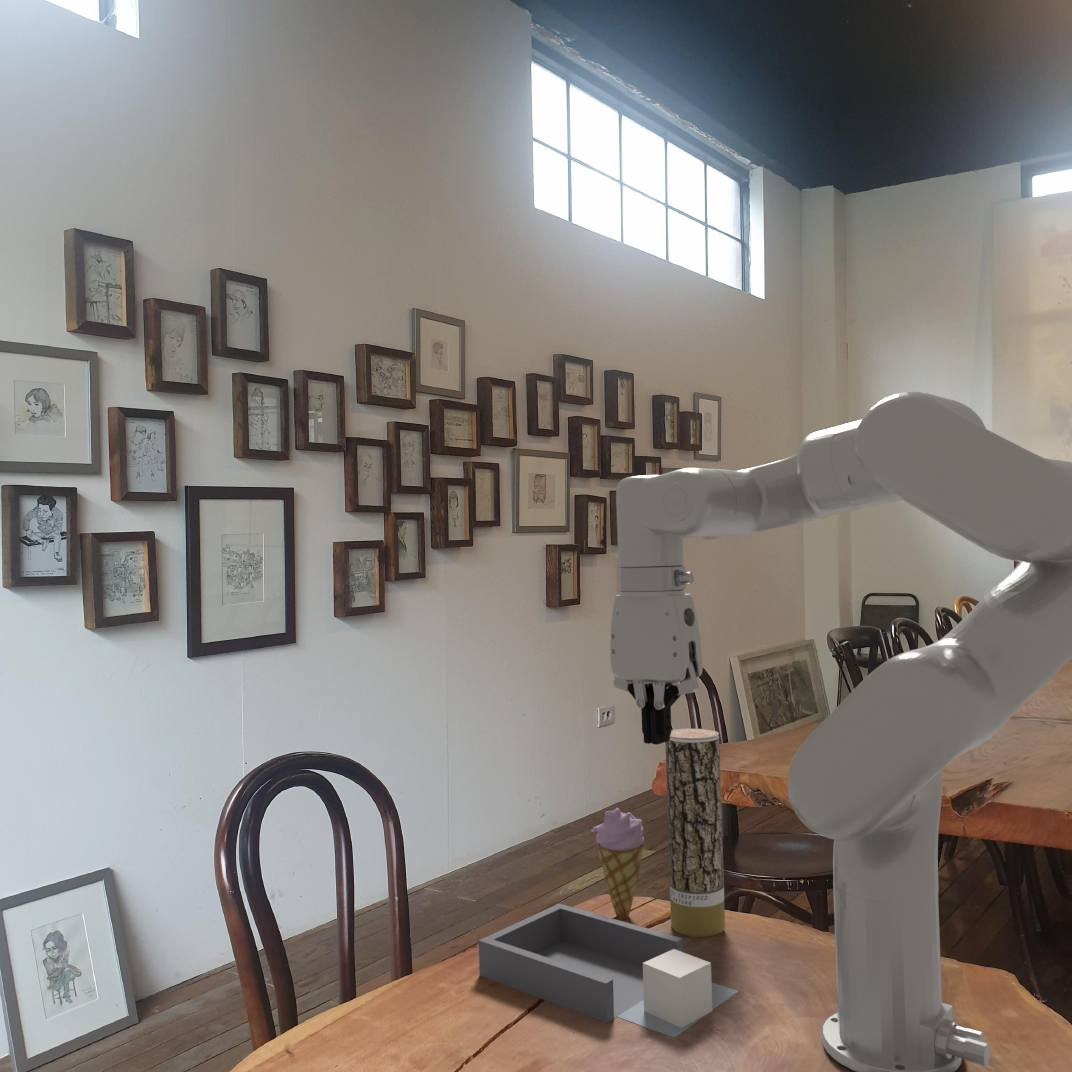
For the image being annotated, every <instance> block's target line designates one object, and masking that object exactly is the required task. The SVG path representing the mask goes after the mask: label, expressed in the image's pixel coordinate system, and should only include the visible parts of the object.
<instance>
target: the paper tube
mask: <svg viewBox="0 0 1072 1072" xmlns="http://www.w3.org/2000/svg"><path fill="white" fill-rule="evenodd" d="M664 743H665V746H664V747H665V748H664V749H665V775H666V776H665V777H666V778H665V779H666V780H665V781H666V803H667V804H666V805H667V808H666V809H667V810H666V811H667V835H668V837H667V838H668V839H667V841H668V873H669V874H668V875H669V877H668V878H669V898H670V926H671V928H672V929H673V931H675V932H676V933H679V934H681V935H683V936H687V937H692V938H693V937H694V938H706V937H707V938H708V937H714V936H717V935H719V934H722V933H723V932H724V930H725V927H726V922H725V921H726V918H725V917H726V916H725V914H726V913H725V883H724V882H725V880H724V878H725V877H724V851H723V850H724V849H723V848H724V846H723V826H722V825H723V819H722V815H723V814H722V787H721V785H722V784H721V758H720V757H721V756H720V755H721V754H720V752H721V751H720V736H719V732H718V731H715V730H712V729H706V728H678V729H671V735H670V740H669V741H667V742H664Z"/></svg>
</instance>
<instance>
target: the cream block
mask: <svg viewBox="0 0 1072 1072" xmlns="http://www.w3.org/2000/svg"><path fill="white" fill-rule="evenodd" d="M711 982H712V963H711V962H710V961H707V960H704V959H702V958H700V957H697V956H694V955H692V954H691V955H690V954H689V953H686V952H684V951H683V952H681V951H678V950H675V949H673V950H670V951H668V952H666V953H664V954H662V955H659V956H657V957H655V958H653V959H650V960H648V961H646V962H644V963H643V993H644V1011H645V1012H647V1013H649V1014H651V1015H654V1016H656V1017H658V1018H660V1019H662V1020H665V1021H667V1022H669V1023H671V1024H674V1025H676V1026H678V1027H680V1028H682V1027H684V1026H686V1025H688V1024H690V1023H691V1022H693V1021H695V1020H697V1019H699V1018H701V1017H703V1016H704V1015H706V1014H707V1015H709V1014H710V1013H711V1012H713V1010H712V983H713V982H712V983H711ZM707 1015H706V1016H707ZM704 1017H705V1016H704ZM704 1017H703V1018H704ZM701 1019H702V1018H701Z"/></svg>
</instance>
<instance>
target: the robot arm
mask: <svg viewBox="0 0 1072 1072" xmlns="http://www.w3.org/2000/svg"><path fill="white" fill-rule="evenodd" d="M616 485H617V486H616V491H615V493H616V494H615V499H616V501H615V503H616V504H615V505H616V529H617V530H616V531H617V557H618V558H617V559H618V562H617V564H618V589H619V590H618V591H619V594H616V595H615V598H614V602H613V607H612V613H611V614H612V615H611V623H610V640H609V641H610V645H609V646H610V647H609V648H610V649H609V650H610V651H609V652H610V656H609V657H610V668H611V672H612V674H613V676H614V679H613V686H614V687H615V688H617V689H620V690H623V691H626V692H628V693H629V694H630V695H631V697H633V699H634V700H635V702H636V707H638V708H639V709H640V710H641V711H640V712H641V733H642V734H643V743H644V744H647V745H648V744H649V745H650V744H652V745H656V746H657V745H660V744H663V743H665V742H667V741H669V740H670V735H671V730H672V712H671V711H672V709H671V708H672V707H674V706H675V704H676V702H677V701H678V699H679V698H680V697H681V696H682V695H687V694H692V693H695V692H698V691H699V688H700V687H699V683H698V679H697V678H699V677H701V676H702V675H703V665H704V664H703V650H702V641H701V631H700V624H699V619H698V614H697V610H696V609H697V608H696V606H695V605H696V604H695V602H694V598H693V595H692V594H691V593H686V589H687V588H686V587H687V585H689V584H690V585H691V584H693V583H694V580H695V579H694V578H695V576H694V573H693V572H690V571H686V566H685V563H684V562H685V561H684V560H685V559H684V557H685V556H684V537H688V538H689V537H692V538H699V537H700V538H701V537H702V538H703V537H738V536H739V537H740V536H746V535H752V534H757V533H762V532H766V531H771V530H776V529H781V528H787V527H790V526H793V525H798V524H803V523H806V522H810V521H813V520H818V519H826V518H829V517H830V516H834V515H839V514H843V513H848V512H852V511H853V512H854V511H857V510H862V509H865V508H869V507H870V508H871V507H874V506H879V505H883V504H889V503H894V502H899V501H903V502H905V503H907V504H908V505H910V506H912V507H913V508H915V509H917V511H920V512H922V513H923V514H925V516H928V517H930V518H931V519H933V520H934V521H936V522H938V523H940V524H941V525H943V526H944V527H946V528H948V529H950V530H951V531H953V532H954V533H956V534H957V535H959V536H961V537H962V538H964V539H966V541H969V542H971V543H972V544H974V545H975V546H976V547H977V546H978V547H979V548H981V549H983V550H985V551H986V552H989V553H990V554H993V555H996V556H997V557H1000V558H1003V559H1006V560H1011V561H1014V562H1018V563H1017V565H1016V566H1015V567H1014V569H1013V570H1012V571H1011V572H1010V573H1009V574H1008V575H1007V576H1006V577H1005V578H1004V579H1003V580H1002V581H1000V582H999V583H997V584H996V585H995V586H994V587H992V589H991V590H990V591H988V592H987V593H986V594H985V595H984V596H983V597H982V598H981V600H979V602H978V603H977V604H976V605H975V606H974V608H973V609H972V610H971V611H969V613H968V614H967V615H966V616H964V617H963V619H962V620H961V621H959V622H958V623H957V624H956V625H955V626H954V627H953V628H952V629H951V630H950V631H949V632H948V633H946V634H945V635H944V636H943V637H942V638H941V639H939V640H937V641H936V642H934V643H932V644H929V645H927V646H924V647H919V648H916V649H911V650H908V651H904V652H902V653H899V654H896V655H895V656H893V657H890V658H889V659H887V660H886V661H884V662H883V663H881V664H880V665H879V666H878V667H876V668H875V669H873V670H872V671H871V672H870V673H869V674H867V676H866V677H865V678H863V680H862V681H861V682H860V683H859V684H858V685H857V686H856V687H855V688H854V689H853V690H852V691H851V692H850V693H849V694H848V695H847V696H846V697H845V698H844V699H843V700H842V701H841V703H840V704H838V705H837V707H836V708H835V709H833V711H832V712H831V713H830V714H828V716H827V717H826V718H825V719H824V720H823V721H822V722H821V723H820V724H819V726H817V727H816V728H815V730H813V732H812V733H811V734H810V735H809V736H807V738H806V739H805V740H804V741H803V743H802V744H801V745H800V746H799V748H798V749H797V751H796V752H795V754H794V756H793V758H792V760H791V762H790V765H789V769H788V772H787V793H788V798H789V802H790V804H791V807H792V809H793V811H794V812H795V815H796V816H797V818H798V819H799V820H800V821H801V822H802V823H803V825H805V826H806V827H807V828H808V829H809V830H810V831H812V832H814V833H815V834H817V835H820V836H821V837H824V838H827V839H831V840H834V841H833V851H832V852H833V854H832V856H833V857H832V870H833V871H832V872H833V873H832V874H833V875H832V876H833V880H832V881H833V882H832V884H833V885H832V886H833V914H834V917H833V919H834V941H835V942H834V946H835V947H834V948H835V969H836V971H835V977H836V1004H837V1005H836V1006H837V1012H836V1013H834V1014H832V1015H830V1016H828V1018H827V1019H826V1020H825V1021H823V1022H824V1023H823V1024H822V1026H821V1041H822V1046H823V1047H824V1050H825V1051H826V1053H828V1054H829V1055H830V1056H831V1058H833V1060H834V1061H836V1062H838V1063H839V1064H841V1065H842V1066H843V1067H846V1068H847V1069H850V1070H851V1071H853V1072H956V1071H957V1070H959V1068H960V1066H961V1065H962V1060H963V1059H964V1060H965V1061H966V1062H970V1063H972V1064H975V1065H979V1066H982V1067H986V1068H987V1067H988V1066H989V1064H990V1059H991V1045H990V1044H989V1043H988V1042H985V1034H984V1032H983V1031H982V1030H977V1029H974V1028H970V1027H964V1026H961V1025H959V1023H958V1022H957V1021H956V1020H955V1021H954V1018H953V1015H954V1014H953V1012H954V1011H953V1005H951V1004H948V1003H945V1002H944V1003H943V1000H942V999H943V997H942V995H943V994H942V993H943V992H942V971H941V970H942V969H941V968H942V967H941V944H940V943H941V941H940V940H941V939H940V917H939V916H940V913H939V867H938V865H939V863H938V862H939V861H938V860H939V859H938V857H939V855H938V854H939V849H938V848H939V847H938V846H939V828H940V818H941V808H942V797H943V770H944V768H945V767H947V766H948V765H949V764H950V763H952V762H953V761H954V760H955V759H956V758H958V757H959V756H961V755H963V754H965V753H967V752H969V751H971V750H973V749H976V748H977V747H979V746H981V745H982V744H985V743H986V742H988V741H989V740H990V739H992V738H993V737H994V736H995V735H996V734H997V733H998V732H999V731H1000V730H1001V729H1002V728H1003V727H1004V726H1005V724H1006V723H1008V721H1009V720H1010V719H1011V718H1012V717H1013V716H1014V715H1015V714H1016V713H1017V712H1018V711H1019V710H1020V709H1021V708H1022V707H1023V706H1024V705H1025V704H1026V703H1027V702H1028V701H1029V700H1030V699H1031V698H1033V697H1034V696H1035V694H1037V693H1038V692H1039V691H1040V690H1041V689H1042V688H1043V687H1044V686H1045V685H1046V684H1048V683H1049V682H1050V680H1052V679H1053V678H1054V677H1055V676H1056V674H1058V673H1059V671H1060V670H1061V669H1062V668H1063V667H1064V666H1065V665H1066V664H1067V663H1068V662H1070V660H1071V659H1072V462H1071V461H1065V460H1061V459H1060V460H1058V459H1050V458H1044V457H1042V456H1040V455H1038V454H1037V453H1034V452H1032V451H1030V450H1028V449H1026V448H1024V447H1022V446H1020V445H1018V444H1016V443H1014V442H1013V441H1011V440H1008V439H1006V438H1004V437H1002V436H1000V435H998V434H996V433H994V432H993V431H991V430H989V429H987V428H986V426H985V424H984V422H983V420H982V418H981V417H980V416H979V415H978V414H977V412H976V411H974V410H973V409H972V408H971V407H969V406H967V405H966V404H964V403H962V402H960V401H957V400H954V399H949V398H946V397H942V396H938V395H935V394H930V393H927V392H920V391H919V392H918V391H905V392H904V391H903V392H900V393H899V392H898V393H894V394H892V395H890V396H886V397H885V398H883V399H881V400H880V401H878V402H877V403H875V404H874V405H873V406H872V407H870V408H869V409H868V410H867V412H866V413H865V414H864V415H863V416H862V418H861V419H858V420H855V421H851V422H848V423H847V422H846V423H844V424H840V425H837V426H833V427H829V428H826V429H822V430H818V431H814V432H812V433H809V434H807V435H806V437H804V438H803V440H802V441H801V444H800V445H799V447H798V452H797V453H795V454H793V455H791V456H789V457H787V458H782V459H781V460H777V461H773V462H770V463H766V464H761V465H758V466H753V467H749V468H746V469H745V468H744V469H739V470H730V469H721V468H720V469H719V468H704V467H701V468H700V467H685V468H680V469H675V470H673V471H669V472H666V473H662V474H647V475H646V474H644V475H643V474H642V475H634V476H633V475H632V476H627V477H625V478H622V479H621V480H620V481H619V482H618V484H616ZM678 683H679V684H678Z"/></svg>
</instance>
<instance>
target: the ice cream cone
mask: <svg viewBox="0 0 1072 1072" xmlns="http://www.w3.org/2000/svg"><path fill="white" fill-rule="evenodd" d="M604 815H605V817H603V822H602V823H600V824H598V825H594V826H593V828H592V829H590V831H591V832H592V833H594V832H596V833H597V834H596V837H595V839H596V845H597V848H598V852H599V854H598V855H599V859H600V861H601V867H602V870H603V875H604V879H605V882H606V886H607V889H608V893H609V896H610V900H611V903H612V906H613V909H614V913H615V916H616V918H617V920H619V919H620V920H626V919H629V918H630V914H631V910H632V906H633V901H634V899H635V898H634V897H635V893H636V888H637V883H638V880H639V873H640V868H641V863H642V858H643V849H644V841H645V837H644V827H643V820H642V819H641V818H637V817H635V815H633V814H632V812H630V811H629V812H627V813H626V812H622V811H621V810H620V808H619V807H616V808H615V809H613V810H607V811H605V812H604Z"/></svg>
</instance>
